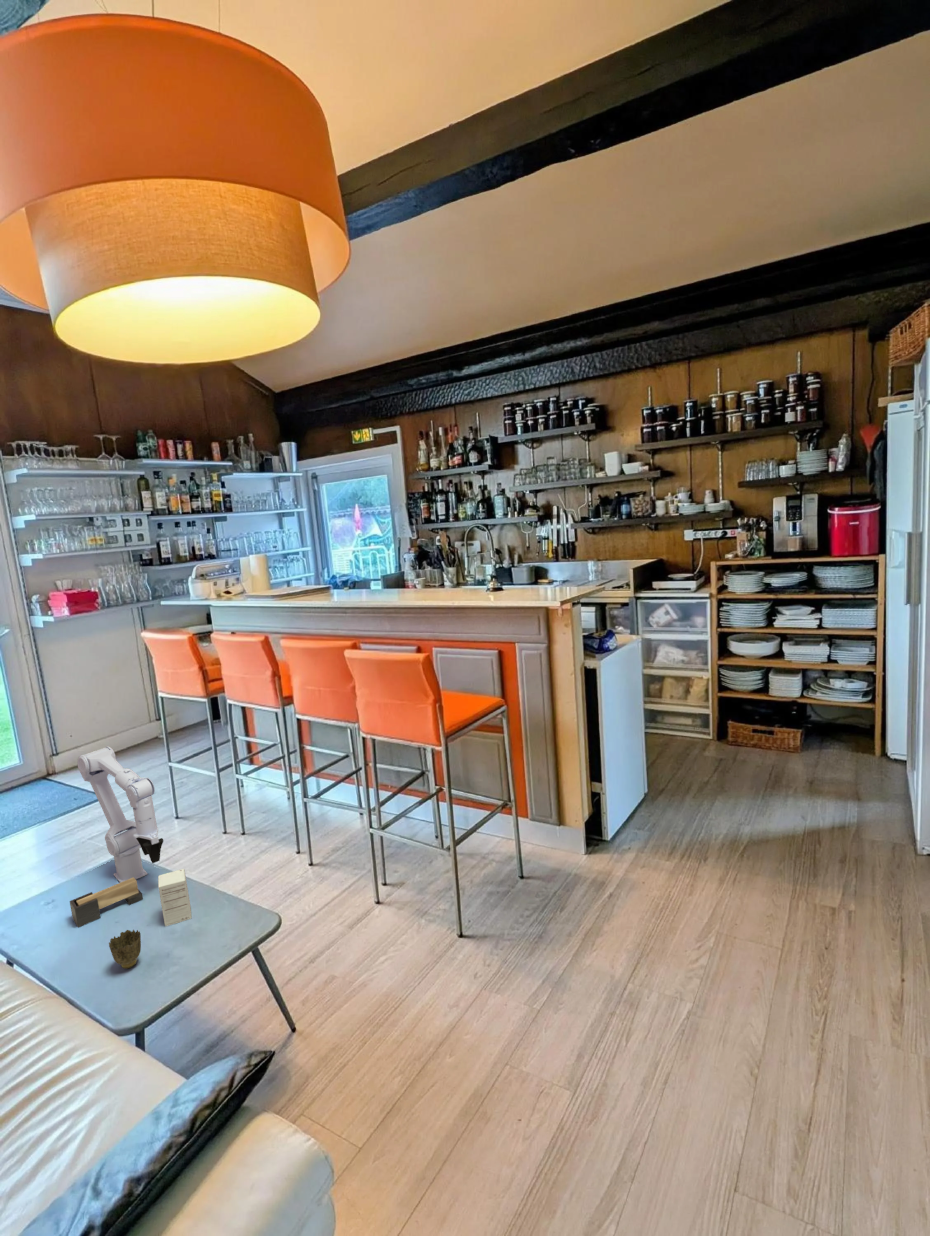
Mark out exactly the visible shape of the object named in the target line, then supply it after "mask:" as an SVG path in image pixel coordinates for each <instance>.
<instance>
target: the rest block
mask: <svg viewBox="0 0 930 1236" xmlns="http://www.w3.org/2000/svg"><path fill="white" fill-rule="evenodd" d="M138 892H139V893H136V894H134V895H132V896H129V897H127V898H125V899H124V901H125V902H126V903H127V904H128V905H129V906H130V905H134V904H136V903H138V902H141V901H143V900H144V894H143V892H141V890H140V889H139V888H138Z"/></svg>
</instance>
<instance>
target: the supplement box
mask: <svg viewBox="0 0 930 1236" xmlns="http://www.w3.org/2000/svg"><path fill="white" fill-rule="evenodd" d="M157 879H158V880H157V885H158V892H159V898H160V904H161V909H162V917H163V922H164V927H169V926H172V925H175V924H178V923H182V922H185V921H188V920H191V919H192V906H191V902H190V895H189V890H188V889H189V888H188V883H187V877H186V870H185V868H181V869H177V870H173V871H169V872H167V873H163V874H159V875H158V877H157Z"/></svg>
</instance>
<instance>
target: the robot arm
mask: <svg viewBox="0 0 930 1236" xmlns="http://www.w3.org/2000/svg"><path fill="white" fill-rule="evenodd" d="M77 768H78V771H79V772H80V775H81V777H82V778H83V781H84V782H89V784H90V785H91V787H92V789H93V792H94V794H95V796H96V798H97V801H98V803H99V805H100V808H101V810H102V812H103V814H104V816H105V818H106V821H107V822H108V824H109V829H108V830H107V832H106V833H105V836H104V841H105V843H106V850H107V851H108V852H109V854H110V855H111V856H112V857H113V859H114V860H113V861H114V865H115V871H116V872H114V873H113V876H114V877H115V878H116V880H117V881H118V882H119V883H121V882H123V881H126V880H128V879H131V878H133V877H134V878H135V880H136V881H137V879H138V880H139V879H140V878H143V877H146V876H147V875H148V872H147V871H146V870H145V869H144V868H143V867H144V866H143V863H142V856H141V851H142V852H143V855H144V856H147V855H148V856H149V859H150V861H151V863H152V864H155V863H158V862H160V859H161V851H162V850H161V849H162V846H163V843H164V839H163V837H161V838H159V836H158V834H159V827H158V825H157V820H156V812H155V808H154V801H153V795H154V794H155V785H154V782H153V781H152V780H151V779H150V778H149V777H144V776H143V777H140V776H139V774H137V773H136V772H135V771H133V770H132V769H131V768H124V767H123V765H122V764H121V763H120V762H118V761H117V759H116V753H115V751H114V749H113V748H112V747H110V746H108V745H107V746H105V747H102V748H99V749H96V750H94V751H90V752H88V753H85V754H80V755H79V756H78V758H77ZM108 775H110V776H112V777H113V778H114V782H115V784H116V785H117V786H118V787H120V788H121V789H122V790H123V791H125V794H126V795H125V796H126V797H127V799H128V801H129V805H130V808H132V811H133V816H134V820H129V819H127V818H126V816H125V814H124V812H123V810H122V807H121V805H120V802H119V801H118V799H117V797H116V794H115V792H114V790H113V787H112V786H111V783H110V781H109V779H108ZM140 849H141V851H140Z"/></svg>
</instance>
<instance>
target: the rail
mask: <svg viewBox="0 0 930 1236" xmlns="http://www.w3.org/2000/svg"><path fill="white" fill-rule="evenodd" d="M138 889H139V887H138V881H137V879H136V880H135V878H134V877H133V878H131V879H128V880H126V881H123V882H121V883H120V882H119V883H116V884H114V885H112V886H109V887H107V888H104V889H102V890H99V891H97V892H95V893H93V894H92V895H89V896H87V897H84V898H82V899H80V900H77V901H76V903H77V907H78V906H80V905H82V904H85V903H87V902H90V901H92V900H94V899H97V900H98V905H99V910H102V909H103V908H106V907H108V906H111V905H113V904H114V903H115V904H116V903H117V902H119V901H122V900H125V898H127V897H129V896H132V895H134V894H136V893H139V892H138Z"/></svg>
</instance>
